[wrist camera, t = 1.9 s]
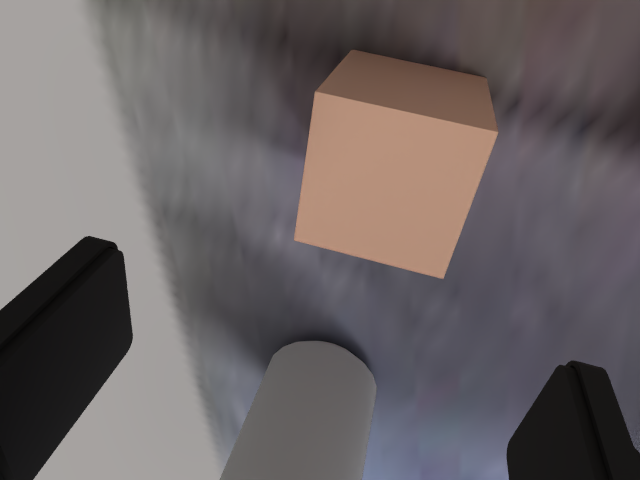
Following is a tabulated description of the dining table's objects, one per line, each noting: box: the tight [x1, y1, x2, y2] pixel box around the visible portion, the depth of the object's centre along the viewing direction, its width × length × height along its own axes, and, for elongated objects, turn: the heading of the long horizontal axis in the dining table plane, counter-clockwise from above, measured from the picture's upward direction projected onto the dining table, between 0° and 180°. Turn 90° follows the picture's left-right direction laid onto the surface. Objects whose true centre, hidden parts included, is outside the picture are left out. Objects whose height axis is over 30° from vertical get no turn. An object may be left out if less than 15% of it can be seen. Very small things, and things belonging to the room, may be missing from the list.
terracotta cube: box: [294, 50, 498, 279], centre depth 20 cm, size 6×6×7 cm
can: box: [220, 341, 377, 480], centre depth 28 cm, size 8×8×12 cm
